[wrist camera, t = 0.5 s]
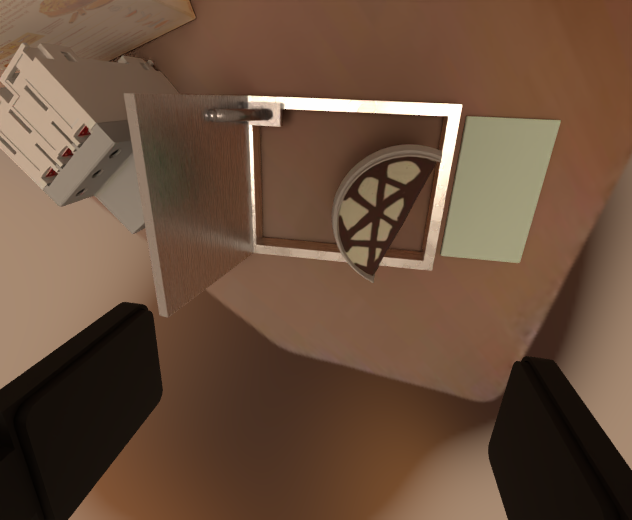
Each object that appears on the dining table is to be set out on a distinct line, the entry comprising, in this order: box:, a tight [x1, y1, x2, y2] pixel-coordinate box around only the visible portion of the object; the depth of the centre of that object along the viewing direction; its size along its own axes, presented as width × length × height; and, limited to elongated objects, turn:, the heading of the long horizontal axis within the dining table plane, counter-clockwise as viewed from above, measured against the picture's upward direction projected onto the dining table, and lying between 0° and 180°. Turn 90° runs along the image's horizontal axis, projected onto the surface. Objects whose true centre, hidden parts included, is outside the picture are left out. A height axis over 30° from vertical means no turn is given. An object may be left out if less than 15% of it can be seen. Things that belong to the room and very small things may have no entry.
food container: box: [332, 144, 442, 282], centre depth 34 cm, size 12×6×10 cm, turn 157°
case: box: [124, 93, 463, 317], centre depth 32 cm, size 16×23×16 cm
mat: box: [440, 116, 561, 263], centre depth 37 cm, size 14×8×1 cm, turn 178°
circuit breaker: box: [0, 43, 180, 234], centre depth 33 cm, size 8×14×15 cm, turn 39°
